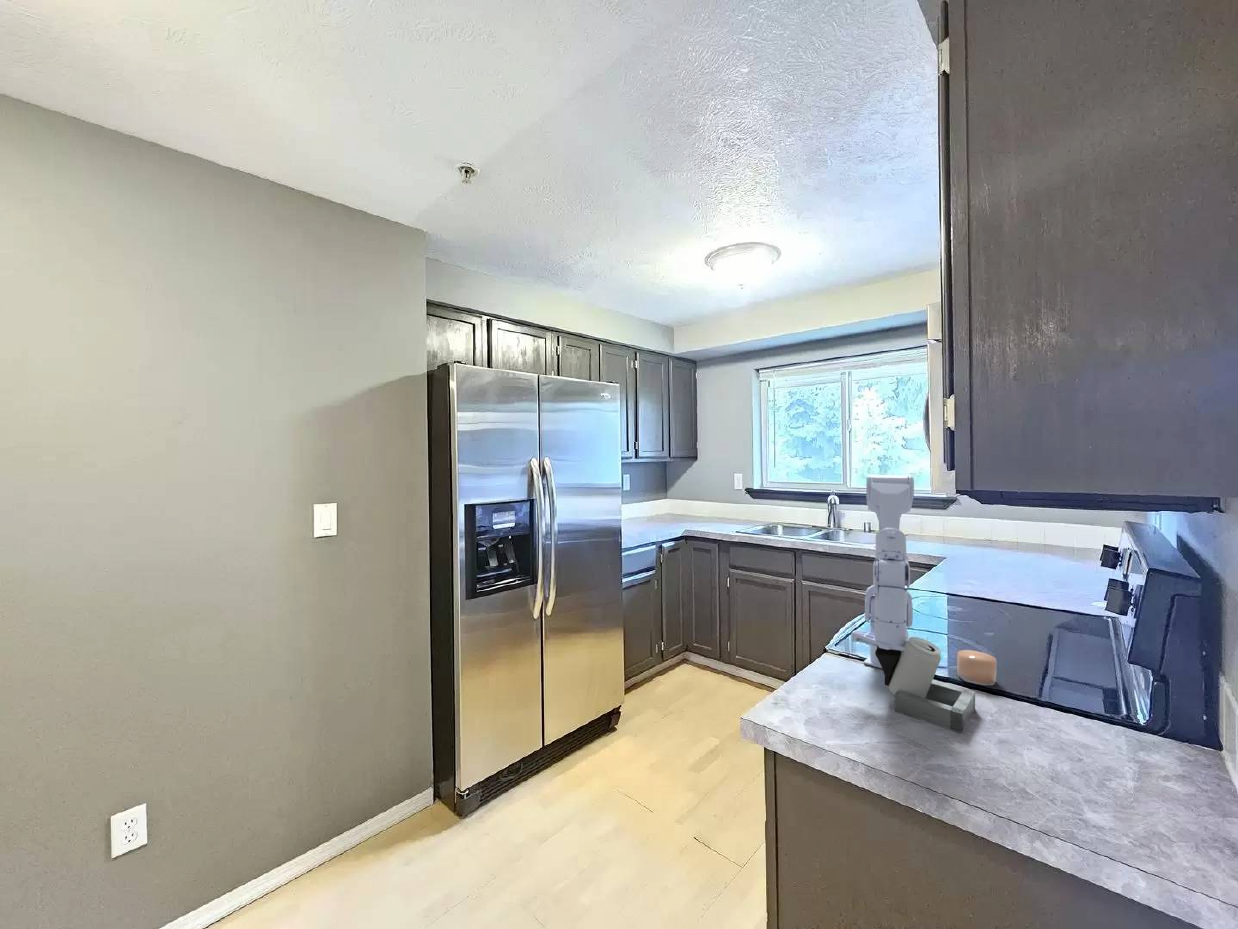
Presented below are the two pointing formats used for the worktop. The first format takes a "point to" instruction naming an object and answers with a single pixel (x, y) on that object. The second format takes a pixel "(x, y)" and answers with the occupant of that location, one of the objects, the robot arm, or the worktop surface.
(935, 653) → the beverage can
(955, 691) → the grey piece
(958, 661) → the peach cylinder plug
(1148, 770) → the worktop surface
